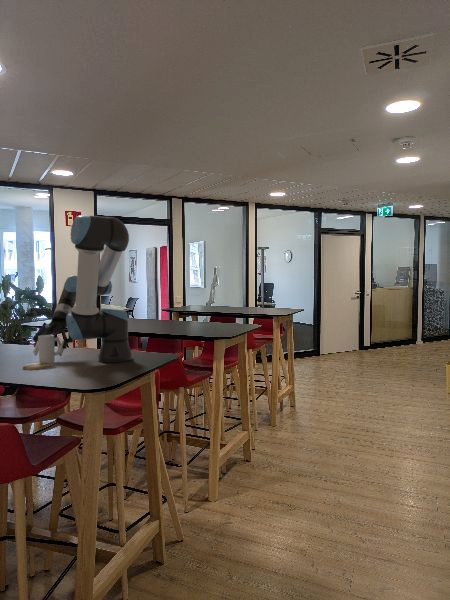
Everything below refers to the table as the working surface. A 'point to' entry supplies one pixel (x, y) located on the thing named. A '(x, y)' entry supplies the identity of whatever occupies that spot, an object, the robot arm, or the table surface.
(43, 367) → the stand
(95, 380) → the table surface
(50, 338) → the mug
